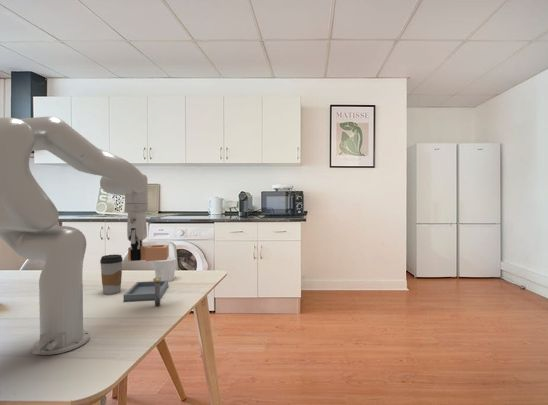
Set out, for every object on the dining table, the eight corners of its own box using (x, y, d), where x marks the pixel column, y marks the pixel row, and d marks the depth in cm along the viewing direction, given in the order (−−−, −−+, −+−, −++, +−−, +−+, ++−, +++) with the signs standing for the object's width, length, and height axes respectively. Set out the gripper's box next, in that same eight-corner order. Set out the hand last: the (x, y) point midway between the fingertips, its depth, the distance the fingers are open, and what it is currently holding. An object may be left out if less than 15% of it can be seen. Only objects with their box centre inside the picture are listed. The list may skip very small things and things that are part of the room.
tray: (159, 299, 116) (159, 293, 116) (123, 301, 114) (123, 295, 114) (168, 286, 134) (168, 280, 134) (137, 287, 132) (137, 281, 132)
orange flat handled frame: (166, 260, 108) (166, 247, 108) (127, 262, 105) (126, 249, 105) (168, 256, 114) (168, 244, 114) (131, 258, 112) (131, 245, 112)
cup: (148, 281, 141) (148, 260, 141) (163, 276, 150) (162, 256, 150) (166, 283, 138) (166, 261, 138) (180, 278, 147) (180, 257, 147)
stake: (160, 306, 109) (160, 279, 109) (153, 306, 109) (152, 279, 108) (162, 303, 112) (161, 277, 111) (154, 304, 111) (154, 277, 111)
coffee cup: (113, 296, 120) (113, 258, 120) (95, 294, 122) (95, 257, 122) (127, 289, 129) (127, 254, 128) (110, 288, 130) (110, 253, 130)
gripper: (143, 209, 101) (143, 263, 102) (151, 207, 117) (151, 254, 118) (118, 209, 100) (119, 265, 100) (130, 207, 116) (130, 255, 116)
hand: (136, 259), depth 109 cm, fingers closed on orange flat handled frame, 3 cm apart
